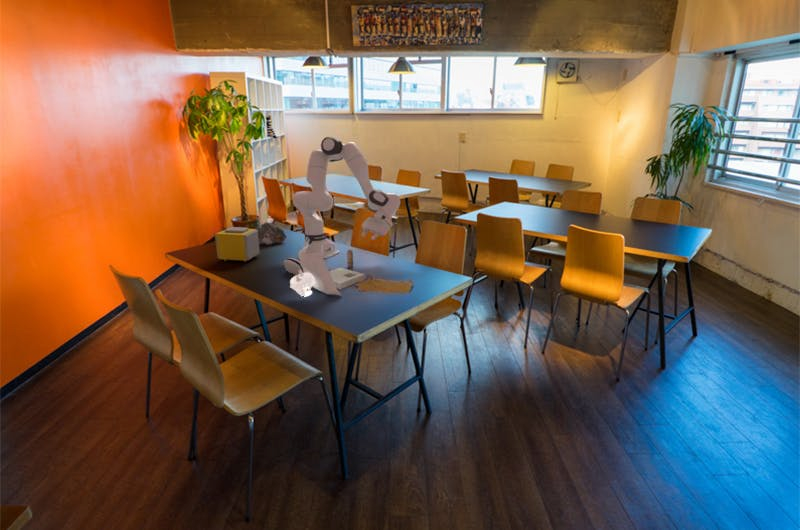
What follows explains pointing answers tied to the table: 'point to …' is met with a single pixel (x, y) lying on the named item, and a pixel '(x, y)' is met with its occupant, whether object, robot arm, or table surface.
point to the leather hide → (384, 286)
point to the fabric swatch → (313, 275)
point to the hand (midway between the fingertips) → (367, 237)
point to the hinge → (293, 266)
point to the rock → (271, 233)
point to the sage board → (345, 277)
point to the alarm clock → (237, 243)
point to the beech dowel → (350, 258)
